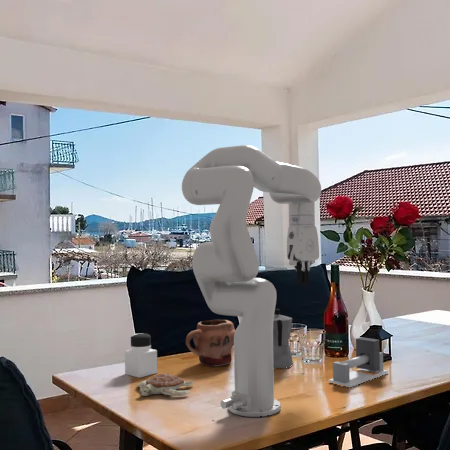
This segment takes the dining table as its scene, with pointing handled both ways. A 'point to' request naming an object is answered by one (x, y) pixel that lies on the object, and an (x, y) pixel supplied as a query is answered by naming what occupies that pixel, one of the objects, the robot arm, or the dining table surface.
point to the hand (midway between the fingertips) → (302, 284)
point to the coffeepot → (281, 341)
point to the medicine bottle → (140, 357)
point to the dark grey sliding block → (369, 348)
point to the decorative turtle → (164, 385)
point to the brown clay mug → (213, 342)
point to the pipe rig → (355, 371)
